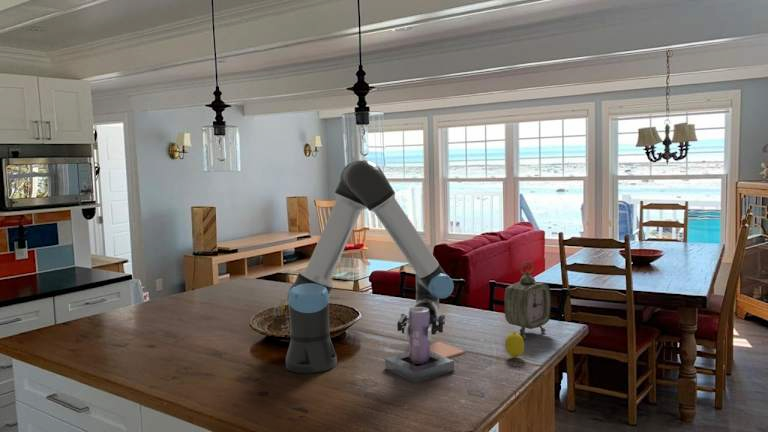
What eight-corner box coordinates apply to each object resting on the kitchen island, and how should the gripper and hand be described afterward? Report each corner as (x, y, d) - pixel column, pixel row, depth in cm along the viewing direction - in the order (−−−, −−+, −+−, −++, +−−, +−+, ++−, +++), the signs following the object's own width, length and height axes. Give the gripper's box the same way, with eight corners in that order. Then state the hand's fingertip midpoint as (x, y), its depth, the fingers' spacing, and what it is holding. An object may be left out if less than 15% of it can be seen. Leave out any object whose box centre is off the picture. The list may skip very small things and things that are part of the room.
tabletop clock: (524, 342, 181) (524, 266, 179) (502, 336, 188) (502, 263, 186) (550, 332, 190) (550, 260, 188) (528, 327, 197) (528, 257, 195)
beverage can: (433, 359, 160) (433, 308, 159) (423, 365, 155) (423, 312, 154) (415, 355, 163) (414, 305, 162) (405, 361, 158) (404, 310, 157)
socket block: (415, 383, 149) (415, 372, 149) (385, 368, 161) (385, 358, 161) (454, 370, 158) (453, 360, 157) (422, 357, 169) (422, 348, 169)
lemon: (511, 362, 163) (510, 335, 162) (502, 356, 168) (501, 330, 168) (527, 360, 165) (527, 333, 164) (518, 354, 170) (518, 328, 169)
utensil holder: (269, 337, 194) (267, 304, 193) (276, 332, 200) (275, 299, 199) (284, 338, 192) (283, 304, 191) (292, 333, 198) (290, 300, 197)
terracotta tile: (435, 361, 165) (435, 359, 165) (410, 351, 175) (410, 349, 175) (465, 352, 172) (465, 350, 172) (439, 343, 182) (439, 341, 182)
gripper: (454, 325, 175) (451, 349, 152) (395, 323, 178) (383, 346, 155) (454, 302, 174) (451, 322, 151) (395, 300, 177) (383, 320, 154)
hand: (417, 334), depth 153 cm, fingers closed on beverage can, 6 cm apart
